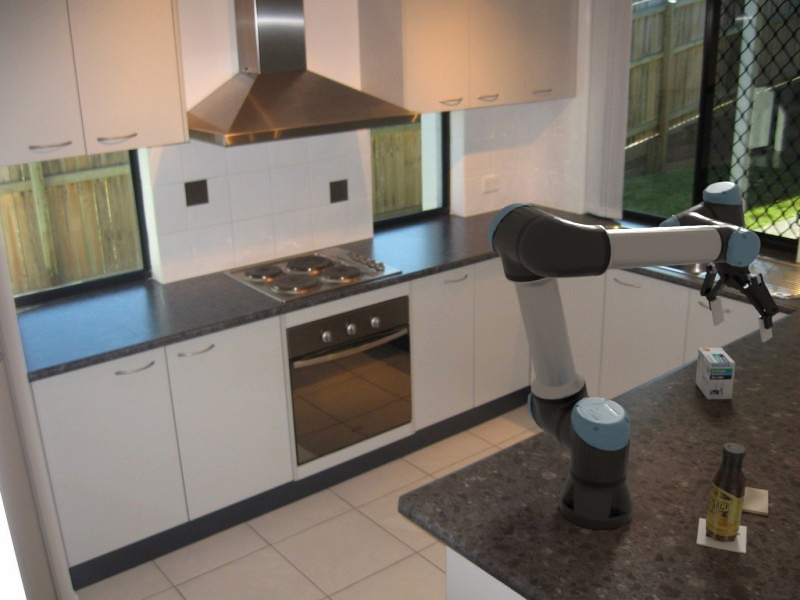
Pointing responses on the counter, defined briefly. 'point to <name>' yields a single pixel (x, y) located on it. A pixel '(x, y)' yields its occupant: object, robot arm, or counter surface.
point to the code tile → (732, 545)
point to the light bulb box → (715, 373)
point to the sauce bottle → (727, 495)
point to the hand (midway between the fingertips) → (742, 331)
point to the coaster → (755, 501)
